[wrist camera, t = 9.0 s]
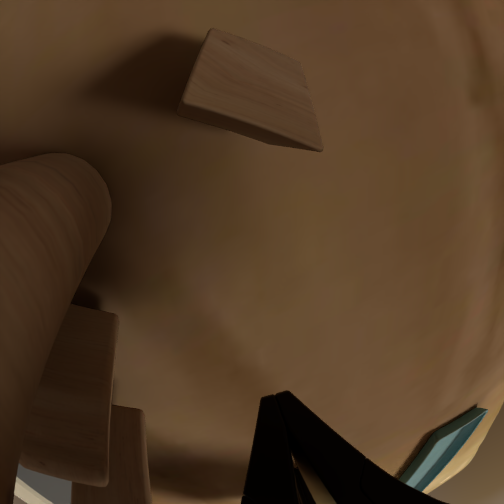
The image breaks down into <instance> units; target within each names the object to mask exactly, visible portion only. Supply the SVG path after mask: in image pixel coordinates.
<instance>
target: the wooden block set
mask: <svg viewBox="0 0 504 504" xmlns="http://www.w3.org/2000/svg"><path fill="white" fill-rule="evenodd" d="M177 115H179V116H182V117H185V118H189V119H192V120H196V121H199V122H203V123H206V124H209V125H213V126H216V127H219V128H222V129H226V130H229V131H232V132H235V133H238V134H241V135H244V136H247V137H250V138H253V139H256V140H258V141H261V142H264V143H267V144H270V145H278V146H285V147H292V148H298V149H305V150H311V151H317V152H322V151H323V143H322V139H321V135H320V131H319V127H318V123H317V119H316V115H315V111H314V107H313V104H312V100H311V96H310V93H309V89H308V86H307V82H306V79H305V75H304V72H303V69H302V66H301V63H300V62H299V61H297V60H295V59H293V58H290V57H288V56H286V55H284V54H281V53H279V52H277V51H274V50H272V49H270V48H267V47H265V46H262V45H260V44H257V43H254V42H252V41H249V40H246V39H244V38H241V37H238V36H235V35H232V34H229V33H226V32H223V31H220V30H217V29H214V28H212V29H210V30H209V31H208V33H207V35H206V38H205V40H204V42H203V45H202V47H201V49H200V52H199V54H198V56H197V59H196V61H195V64H194V66H193V69H192V71H191V74H190V76H189V79H188V82H187V84H186V87H185V89H184V92H183V95H182V98H181V100H180V103H179V106H178V109H177ZM111 209H112V201H111V198H110V194H109V191H108V187H107V184H106V183H105V182H104V180H103V179H102V177H101V176H100V174H99V172H98V171H97V170H96V169H95V168H94V167H92V166H91V165H90V164H89V163H87V162H86V161H85V160H84V159H81V158H79V157H76V156H73V155H71V154H68V153H48V154H43V155H39V156H35V157H30V158H26V159H22V160H18V161H14V162H10V163H7V164H3V165H0V504H13V499H14V491H15V483H16V477H17V471H18V465H19V463H20V465H21V466H23V467H24V468H26V469H29V470H32V471H35V472H38V473H42V474H45V475H49V476H52V477H56V478H60V479H64V480H68V481H72V486H71V504H152V497H151V489H150V479H149V469H148V458H147V444H146V426H145V415H144V413H143V411H142V410H140V409H136V408H129V407H123V406H117V405H111V401H112V389H113V379H114V370H115V359H116V348H117V338H118V329H119V319H118V316H117V315H116V314H114V313H109V312H105V311H100V310H95V309H91V308H87V307H82V306H78V305H74V304H70V303H71V301H72V299H73V297H74V294H75V292H76V290H77V288H78V286H79V284H80V282H81V280H82V278H83V276H84V274H85V272H86V270H87V268H88V266H89V264H90V262H91V260H92V258H93V256H94V254H95V252H96V250H97V248H98V247H99V245H100V243H101V241H102V239H103V237H104V236H105V234H106V231H107V228H108V226H109V223H110V220H111Z"/></svg>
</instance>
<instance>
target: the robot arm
mask: <svg viewBox="0 0 504 504" xmlns="http://www.w3.org/2000/svg"><path fill="white" fill-rule="evenodd" d="M291 453H292V454H291ZM292 456H293V458H294V460H295V462H296V465H297V467H298V468H297V469H294V465H293V460H292ZM241 504H449V503H445V502H442V501H440V500H437V499H435V498H433V497H431V496H429V495H427V494H425V493H423V492H421V491H419V490H417V489H415V488H413V487H411V486H409V485H407V484H405V483H403V482H402V481H400V480H398V479H396V478H395V477H393V476H391V475H390V474H388V473H387V472H385V471H384V470H383V469H381V468H380V467H378V466H377V465H376V464H374V463H373V462H372V461H371V460H369V459H368V458H366V457H365V456H364V455H363V454H362V453H360V452H359V451H358V450H357V449H356V448H354V447H353V446H352V445H351V444H349V443H348V442H347V441H346V440H345V439H343V438H342V437H341V436H340V435H339V434H337V433H336V432H335V431H334V430H333V429H332V428H330V427H329V426H328V425H327V424H326V423H325V422H323V421H322V420H321V419H320V418H319V417H318V416H317V415H316V414H314V413H313V412H312V411H311V410H310V409H309V408H308V407H307V406H305V405H304V404H303V403H302V402H301V401H300V400H299V399H298V398H297V397H295V396H294V395H293V394H292V393H291V392H290V391H288V390H286V391H283V392H279V393H276V395H273V394H272V395H268V396H264V397H262V398H261V400H260V406H259V411H258V417H257V423H256V428H255V434H254V439H253V445H252V450H251V455H250V461H249V466H248V471H247V476H246V481H245V486H244V491H243V496H242V500H241Z"/></svg>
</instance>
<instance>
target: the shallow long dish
mask: <svg viewBox="0 0 504 504" xmlns="http://www.w3.org/2000/svg"><path fill="white" fill-rule="evenodd" d="M487 412H488V409H483V408H474V409H473V410H471V411H470V412H468V413H466V414H465V415H463V416H462V417H460V418H458V419H457V420H455V421H453V422H451V423H450V424H448V425H446V426H444V427H443V428H441V429H439V430H437V431H435V432H434V433H433V434H432V435H431V437H430V438H429V440H428V441H427V443H426V444H425V446H424V447H423V448H422V450H421V451H420V452H419V454H418V455H417V457H416V458H415V459H414V461H413V462H412V463H411V465H410V466H409V467H408V468H407V470H406V471H405V472H404V473H403V475H402V476H401V477H400V478H399V480H400V481H402V482H403V483H405V484H407V485H409V486H411V487H413V488H415V489H417V490H419V491H421V492H422V491H423V490H424V489H425V488H426V487H427V486H428V485H429V484H430V483H431V482H432V481H433V480H434V479H435V478H436V476H437V475H438V474H439V473H440V472H441V471H442V470H443V469H444V468H445V467H446V465H447V464H448V463H449V462H450V461H451V460H452V458H453V457H454V456H455V455H456V454H457V453H458V451H459V450H460V449H461V448H462V446H463V445H464V444H465V443H466V441H467V440H468V439H469V437H470V436H471V435H472V433H473V432H474V431H475V429H476V428H477V427H478V425H479V424H480V422H481V421H482V419H483V418H484V416H485V415H486V413H487Z"/></svg>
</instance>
